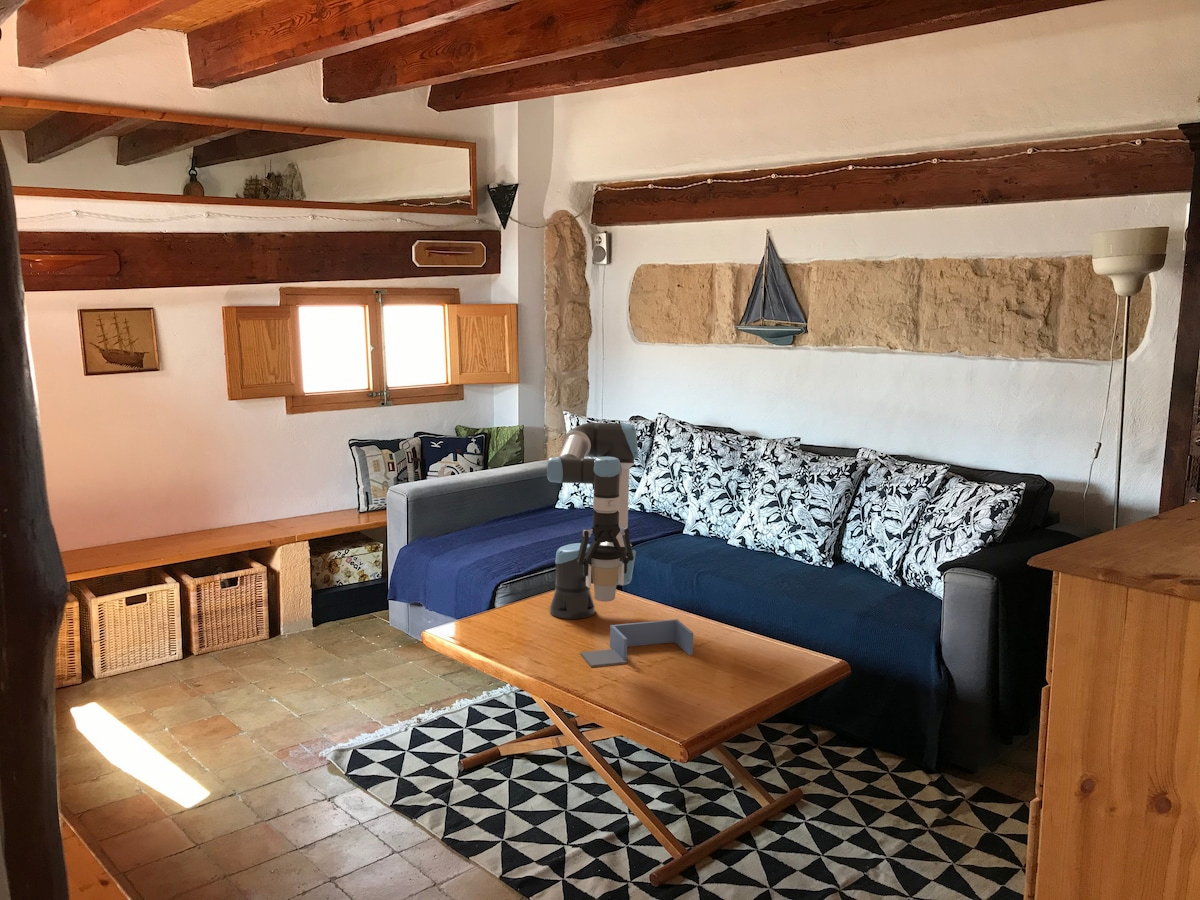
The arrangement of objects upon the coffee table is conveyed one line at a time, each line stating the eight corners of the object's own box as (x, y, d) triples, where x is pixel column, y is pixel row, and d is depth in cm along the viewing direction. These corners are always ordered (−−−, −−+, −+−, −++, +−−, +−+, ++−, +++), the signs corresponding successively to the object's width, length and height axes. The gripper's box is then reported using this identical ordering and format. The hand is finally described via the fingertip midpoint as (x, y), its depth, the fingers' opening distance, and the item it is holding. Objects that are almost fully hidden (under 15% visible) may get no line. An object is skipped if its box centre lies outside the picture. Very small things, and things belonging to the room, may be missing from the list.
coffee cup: (621, 594, 296) (622, 545, 294) (619, 604, 287) (620, 553, 284) (590, 593, 297) (591, 544, 294) (586, 602, 287) (587, 552, 285)
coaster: (580, 654, 298) (580, 652, 298) (615, 650, 301) (615, 648, 301) (591, 667, 288) (591, 665, 288) (626, 663, 291) (626, 661, 291)
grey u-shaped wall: (609, 647, 305) (610, 625, 304) (676, 640, 311) (677, 619, 310) (623, 662, 292) (624, 639, 291) (692, 655, 299) (693, 632, 298)
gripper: (573, 515, 281) (572, 591, 284) (646, 511, 287) (644, 586, 291) (566, 509, 288) (565, 584, 291) (637, 506, 294) (635, 579, 298)
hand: (604, 585), depth 291 cm, fingers closed on coffee cup, 9 cm apart
